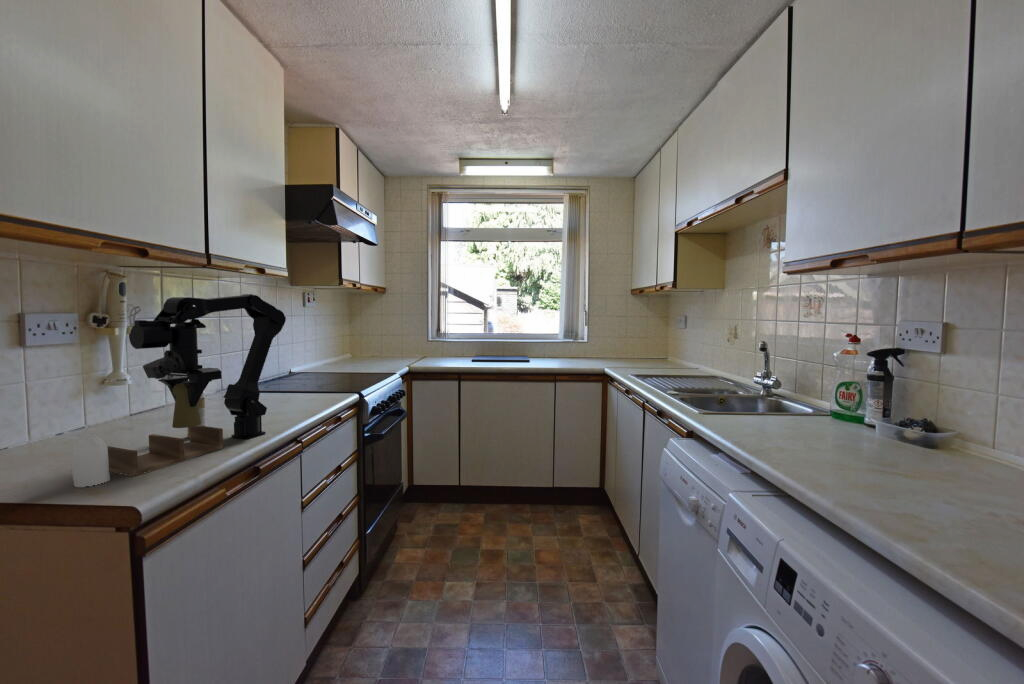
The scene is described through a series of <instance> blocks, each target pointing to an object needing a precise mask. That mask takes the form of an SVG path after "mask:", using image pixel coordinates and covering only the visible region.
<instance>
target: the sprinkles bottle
mask: <svg viewBox="0 0 1024 684" xmlns="http://www.w3.org/2000/svg"><path fill="white" fill-rule="evenodd" d="M205 398H206V391H205V390H204V391H203V393H202V395H201V397H200V399H199V401H198V403H197V405H198V409H199V414H200V419H201V424H200V425H199V426H206V425H207V424H206V422H207V421H206V419H207V418H206V399H205ZM186 437H187V438H188V439H190V427H187V435H186Z"/></svg>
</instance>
